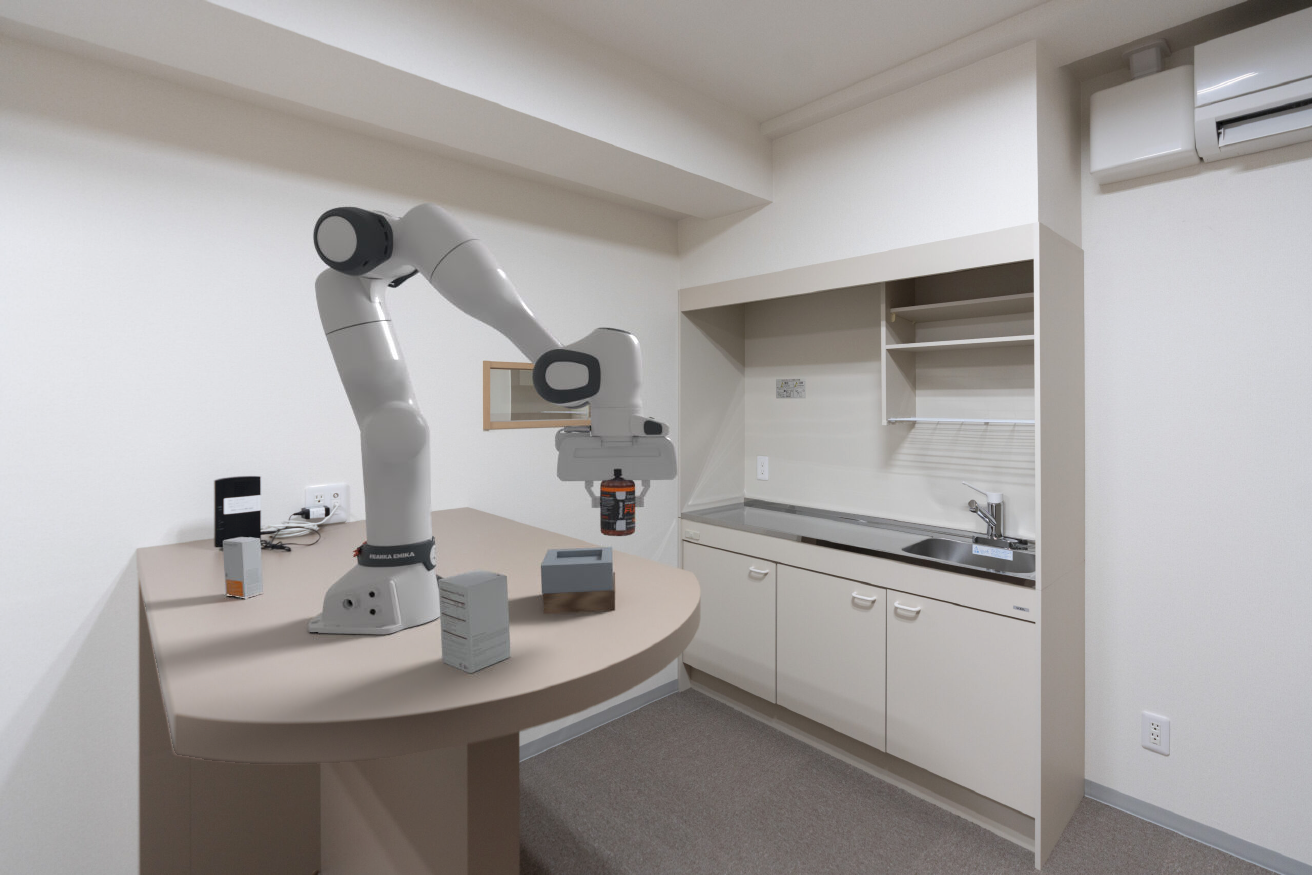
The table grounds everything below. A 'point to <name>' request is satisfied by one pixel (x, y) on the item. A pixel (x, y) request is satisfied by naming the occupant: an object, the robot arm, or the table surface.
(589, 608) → the walnut bottom slab
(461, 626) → the supplement box
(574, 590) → the slate grey top slab
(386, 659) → the table surface
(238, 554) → the skincare box
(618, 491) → the supplement bottle
